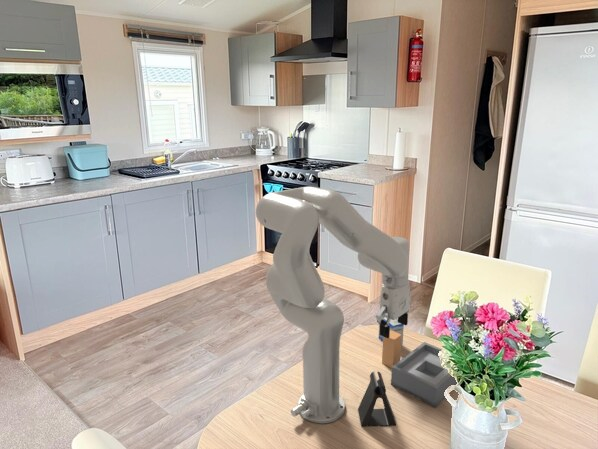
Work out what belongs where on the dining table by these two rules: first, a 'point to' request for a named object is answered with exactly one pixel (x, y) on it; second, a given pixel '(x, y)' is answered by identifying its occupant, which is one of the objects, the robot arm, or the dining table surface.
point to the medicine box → (394, 328)
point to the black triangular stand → (366, 407)
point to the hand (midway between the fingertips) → (393, 329)
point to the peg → (391, 349)
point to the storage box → (422, 375)
